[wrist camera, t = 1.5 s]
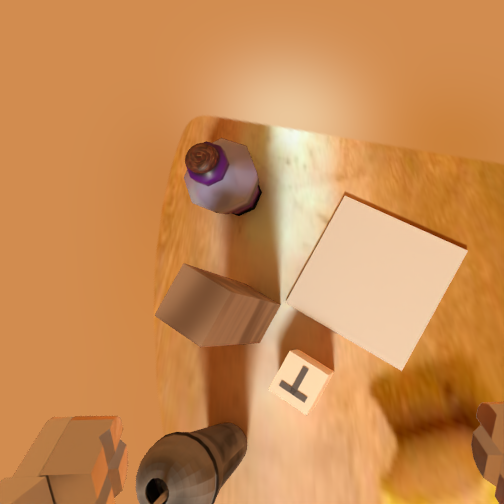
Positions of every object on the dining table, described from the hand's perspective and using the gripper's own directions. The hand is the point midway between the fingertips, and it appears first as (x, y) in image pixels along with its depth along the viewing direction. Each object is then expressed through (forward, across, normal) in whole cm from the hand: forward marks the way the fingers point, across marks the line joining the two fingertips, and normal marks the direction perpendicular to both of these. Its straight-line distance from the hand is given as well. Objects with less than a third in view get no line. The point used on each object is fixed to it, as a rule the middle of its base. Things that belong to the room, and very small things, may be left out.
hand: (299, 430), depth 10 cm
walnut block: (+36, +1, +17) cm, 40 cm away
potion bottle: (+44, +2, +4) cm, 44 cm away
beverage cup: (+29, +5, +30) cm, 42 cm away
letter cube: (+30, -4, +22) cm, 38 cm away
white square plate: (+34, -12, +12) cm, 38 cm away
